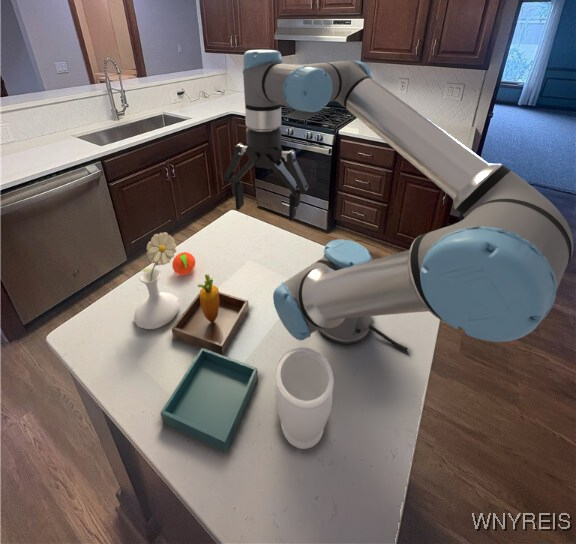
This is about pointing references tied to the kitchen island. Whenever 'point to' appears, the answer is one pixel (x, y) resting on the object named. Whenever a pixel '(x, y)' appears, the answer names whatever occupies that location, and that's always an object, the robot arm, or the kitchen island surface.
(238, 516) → the kitchen island surface
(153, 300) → the flower in vase
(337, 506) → the kitchen island surface
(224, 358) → the tray
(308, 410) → the jar
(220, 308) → the tray
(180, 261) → the clementine
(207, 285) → the carrot
